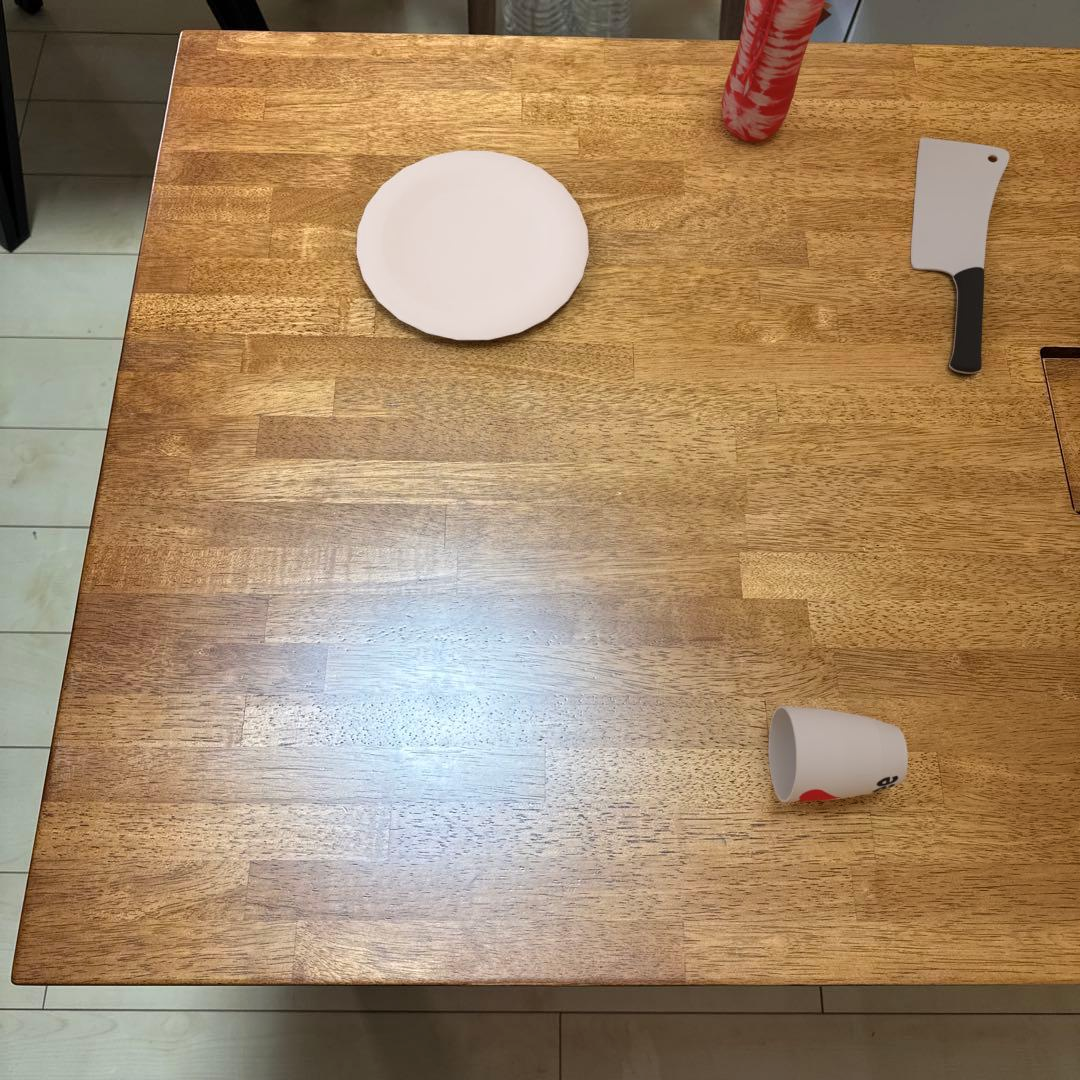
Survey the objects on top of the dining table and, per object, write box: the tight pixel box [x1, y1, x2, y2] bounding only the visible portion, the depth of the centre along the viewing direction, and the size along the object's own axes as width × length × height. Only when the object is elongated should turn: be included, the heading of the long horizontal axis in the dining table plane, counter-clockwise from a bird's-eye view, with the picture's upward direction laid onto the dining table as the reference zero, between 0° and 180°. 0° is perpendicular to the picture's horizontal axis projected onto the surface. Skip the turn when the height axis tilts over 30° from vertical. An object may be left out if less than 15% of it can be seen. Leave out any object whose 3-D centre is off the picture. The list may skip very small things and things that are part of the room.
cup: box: [767, 705, 909, 803], centre depth 88 cm, size 8×8×10 cm
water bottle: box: [720, 0, 833, 143], centre depth 107 cm, size 12×8×25 cm, turn 140°
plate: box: [355, 150, 590, 342], centre depth 110 cm, size 25×25×2 cm
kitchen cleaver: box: [910, 137, 1011, 377], centre depth 112 cm, size 31×2×10 cm
